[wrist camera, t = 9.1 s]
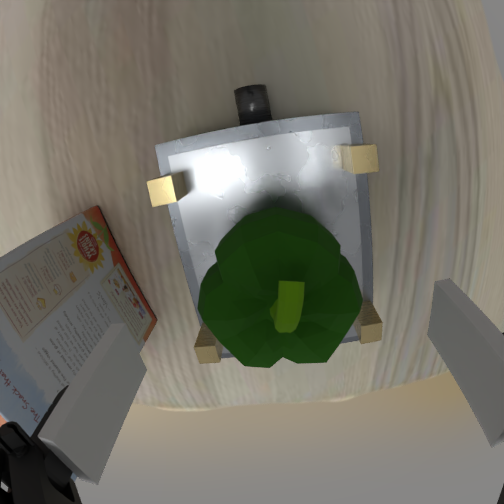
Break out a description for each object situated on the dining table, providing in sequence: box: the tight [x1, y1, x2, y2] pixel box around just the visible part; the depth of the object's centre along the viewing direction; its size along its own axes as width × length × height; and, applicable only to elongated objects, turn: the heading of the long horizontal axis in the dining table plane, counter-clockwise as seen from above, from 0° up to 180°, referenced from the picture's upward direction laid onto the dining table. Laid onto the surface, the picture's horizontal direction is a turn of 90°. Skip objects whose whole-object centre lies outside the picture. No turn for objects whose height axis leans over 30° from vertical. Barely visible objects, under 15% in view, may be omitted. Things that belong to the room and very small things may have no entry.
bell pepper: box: [197, 207, 363, 368], centre depth 17 cm, size 8×8×10 cm
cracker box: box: [0, 206, 157, 482], centre depth 20 cm, size 14×6×21 cm, turn 21°
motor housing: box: [147, 85, 383, 364], centre depth 23 cm, size 21×14×9 cm, turn 10°
